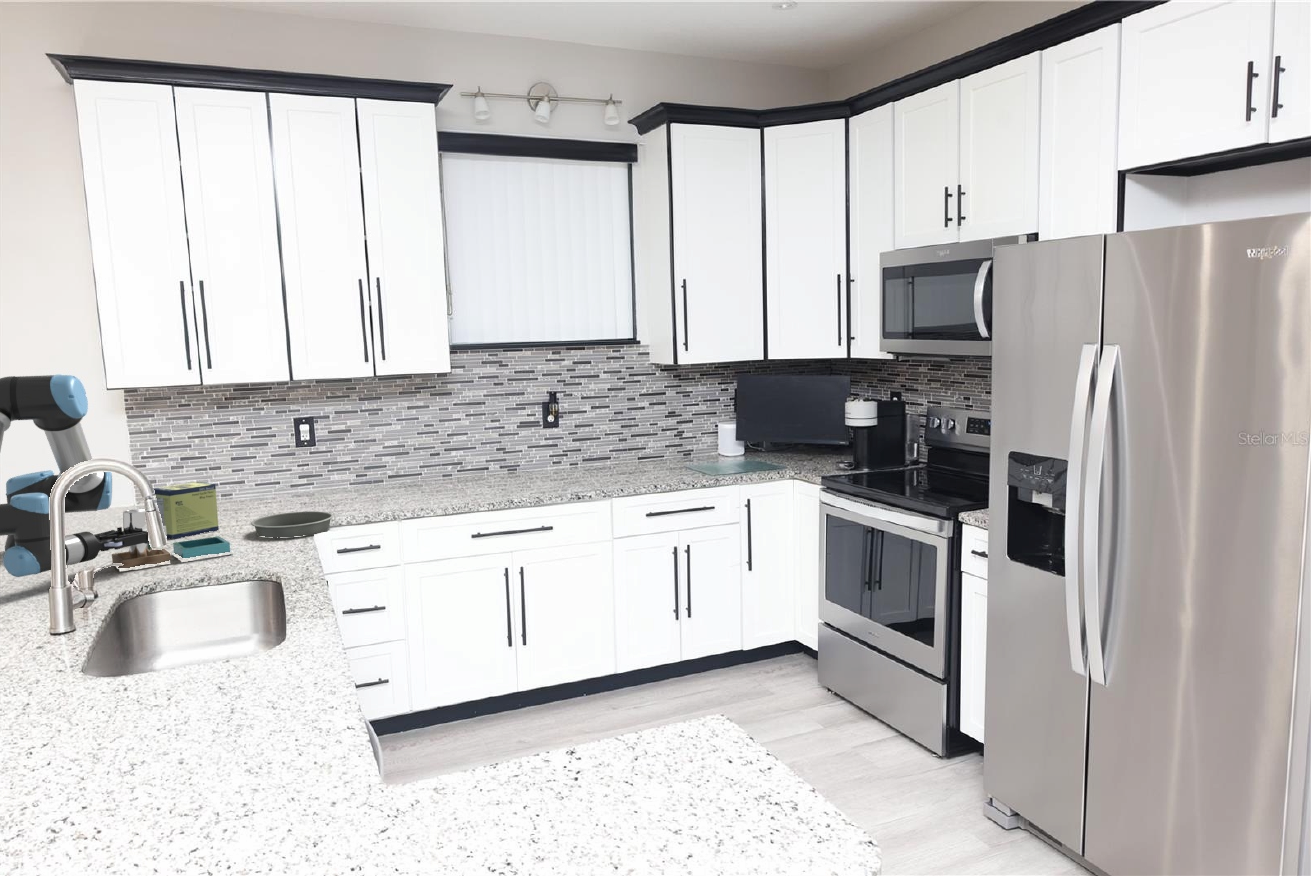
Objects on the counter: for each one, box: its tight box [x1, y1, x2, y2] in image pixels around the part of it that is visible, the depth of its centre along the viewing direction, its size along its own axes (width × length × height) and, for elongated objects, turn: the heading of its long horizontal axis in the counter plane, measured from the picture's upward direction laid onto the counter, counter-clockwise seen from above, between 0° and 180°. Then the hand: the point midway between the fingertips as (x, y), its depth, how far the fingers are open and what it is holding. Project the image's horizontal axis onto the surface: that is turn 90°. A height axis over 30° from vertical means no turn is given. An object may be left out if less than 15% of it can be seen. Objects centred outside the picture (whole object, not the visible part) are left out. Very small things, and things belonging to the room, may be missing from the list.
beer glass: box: [122, 508, 153, 559], centre depth 232 cm, size 7×7×15 cm
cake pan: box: [250, 510, 334, 539], centre depth 273 cm, size 25×25×4 cm
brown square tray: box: [111, 548, 172, 568], centre depth 233 cm, size 12×12×3 cm
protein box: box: [153, 481, 220, 540], centre depth 273 cm, size 10×16×16 cm
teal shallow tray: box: [172, 535, 231, 558], centre depth 242 cm, size 13×13×4 cm
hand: (155, 530), depth 237 cm, fingers closed on beer glass, 6 cm apart
